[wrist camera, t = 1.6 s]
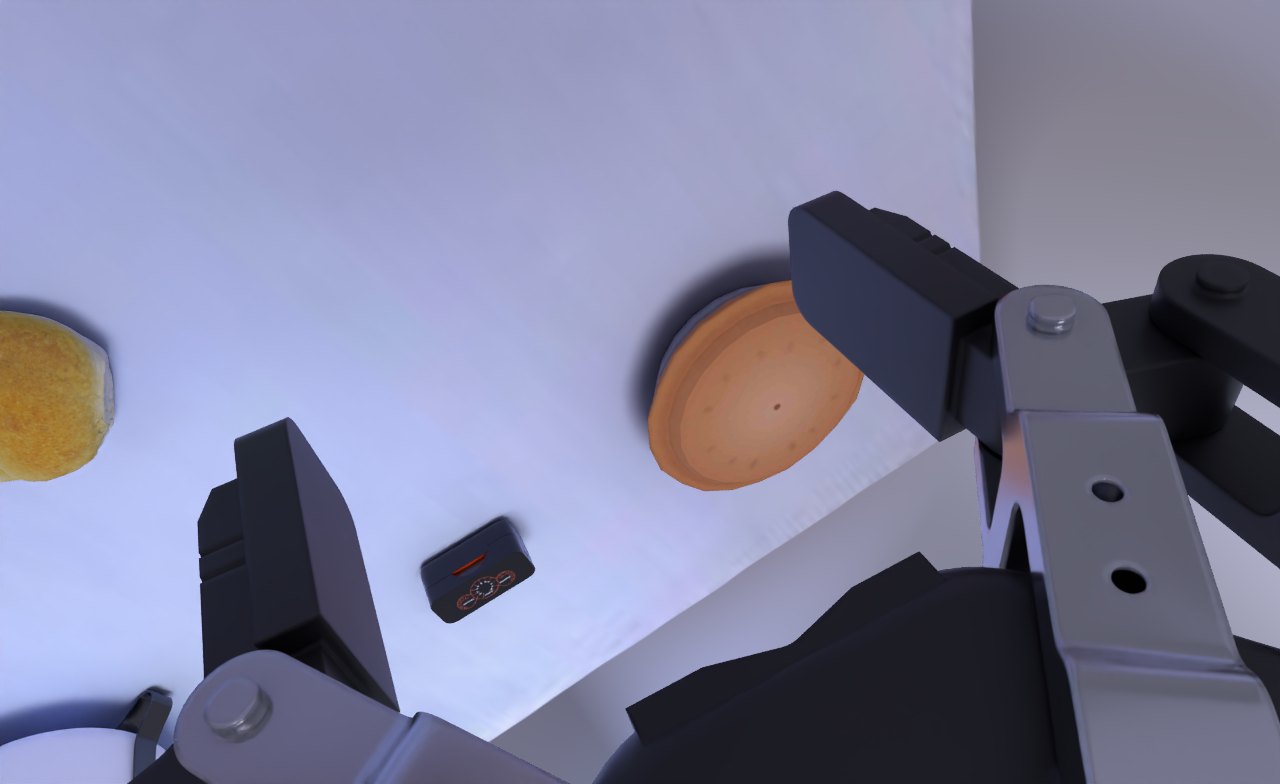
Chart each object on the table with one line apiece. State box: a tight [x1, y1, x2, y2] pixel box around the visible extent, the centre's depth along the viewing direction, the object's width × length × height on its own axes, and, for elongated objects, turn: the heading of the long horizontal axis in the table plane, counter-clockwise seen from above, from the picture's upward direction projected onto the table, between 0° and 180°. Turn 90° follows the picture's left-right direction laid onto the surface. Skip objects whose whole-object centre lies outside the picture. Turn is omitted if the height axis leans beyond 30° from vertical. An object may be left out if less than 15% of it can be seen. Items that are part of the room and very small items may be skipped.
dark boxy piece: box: [421, 520, 535, 623], centre depth 51 cm, size 5×7×3 cm, turn 111°
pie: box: [647, 280, 864, 491], centre depth 50 cm, size 15×16×5 cm
